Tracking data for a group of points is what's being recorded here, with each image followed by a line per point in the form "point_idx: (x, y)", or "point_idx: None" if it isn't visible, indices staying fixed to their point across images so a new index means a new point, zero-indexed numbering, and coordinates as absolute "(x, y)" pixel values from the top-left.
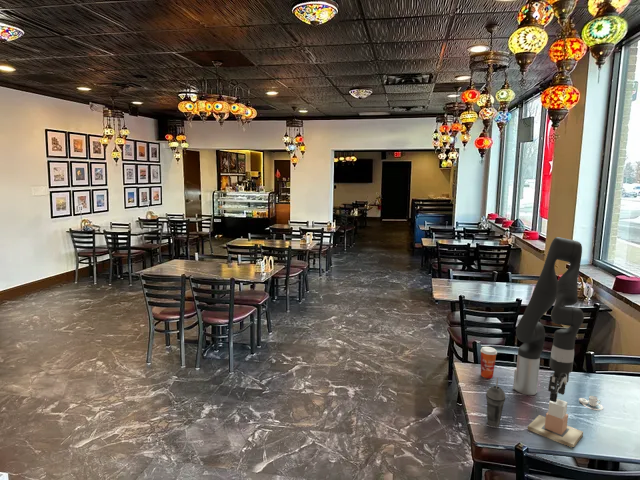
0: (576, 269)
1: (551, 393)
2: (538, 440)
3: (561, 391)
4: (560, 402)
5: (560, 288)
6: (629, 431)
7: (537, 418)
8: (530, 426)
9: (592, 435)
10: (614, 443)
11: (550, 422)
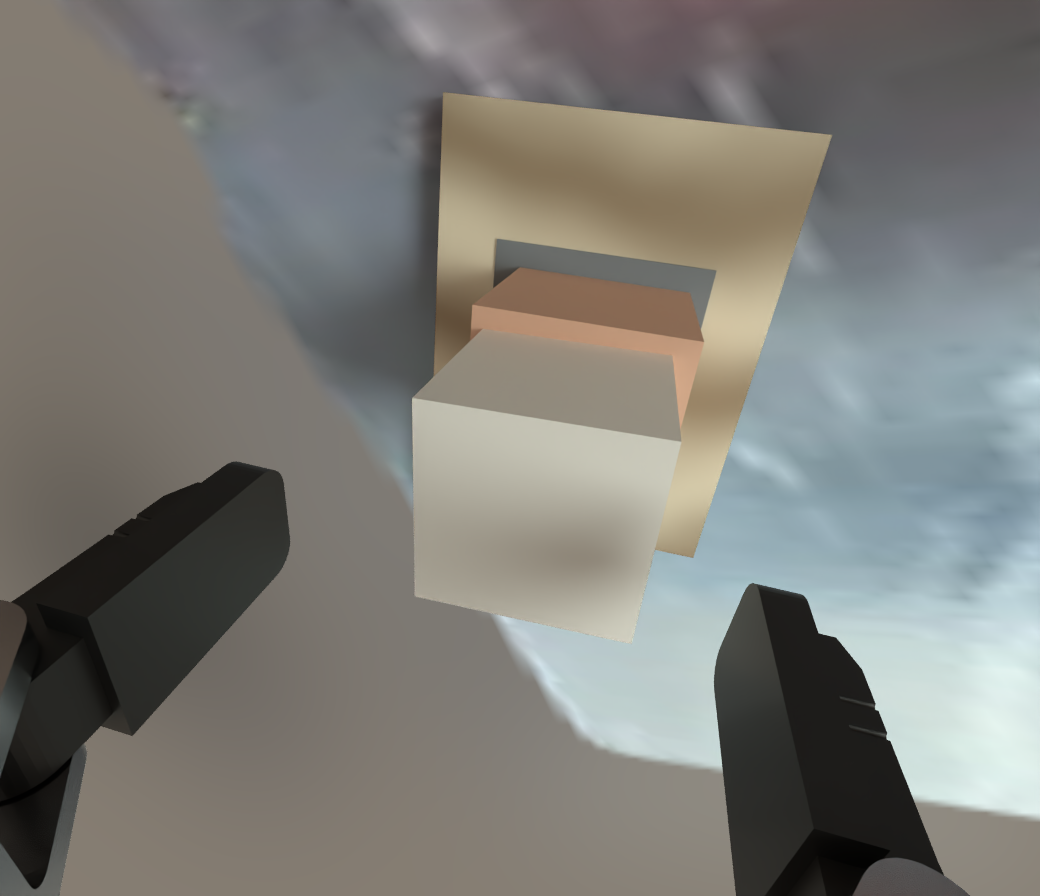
0: None
1: (29, 600)
2: (349, 246)
3: (736, 685)
4: (541, 557)
5: None
6: (965, 786)
7: (705, 141)
8: (451, 122)
9: (737, 592)
10: (705, 693)
11: None
